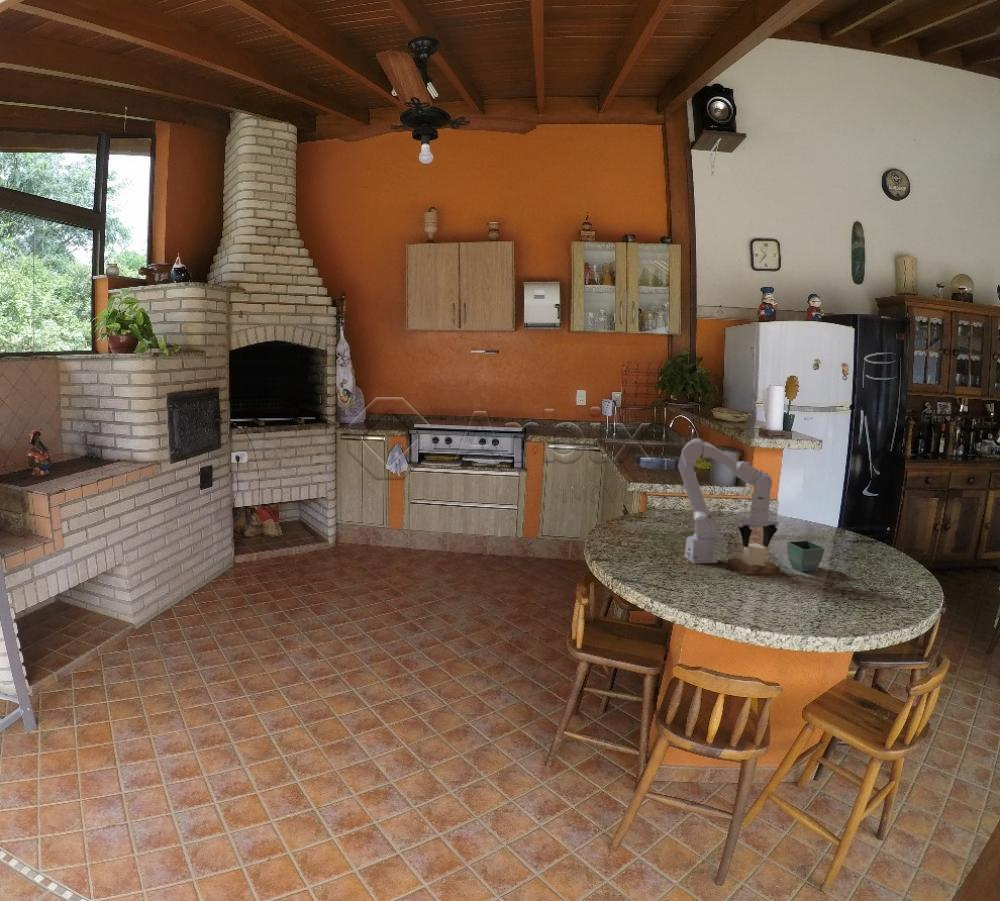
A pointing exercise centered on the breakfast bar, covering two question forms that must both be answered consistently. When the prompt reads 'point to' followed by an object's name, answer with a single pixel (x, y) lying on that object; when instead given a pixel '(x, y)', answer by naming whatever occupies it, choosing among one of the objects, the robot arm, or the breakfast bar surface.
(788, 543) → the flower pot
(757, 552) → the cream block
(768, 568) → the walnut base
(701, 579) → the breakfast bar surface
